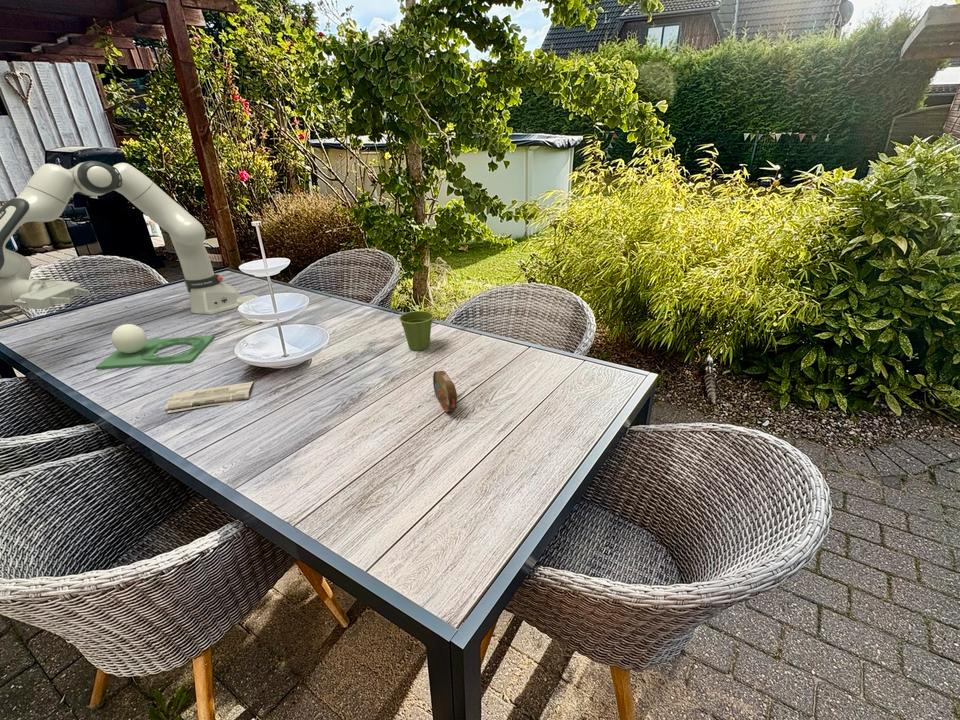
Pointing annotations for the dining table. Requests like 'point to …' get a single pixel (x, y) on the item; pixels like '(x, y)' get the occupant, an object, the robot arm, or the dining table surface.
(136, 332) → the ball
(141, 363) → the putting mat
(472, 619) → the dining table surface
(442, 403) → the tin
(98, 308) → the dining table surface
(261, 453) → the dining table surface
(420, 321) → the plant pot
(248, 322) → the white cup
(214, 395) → the newspaper
